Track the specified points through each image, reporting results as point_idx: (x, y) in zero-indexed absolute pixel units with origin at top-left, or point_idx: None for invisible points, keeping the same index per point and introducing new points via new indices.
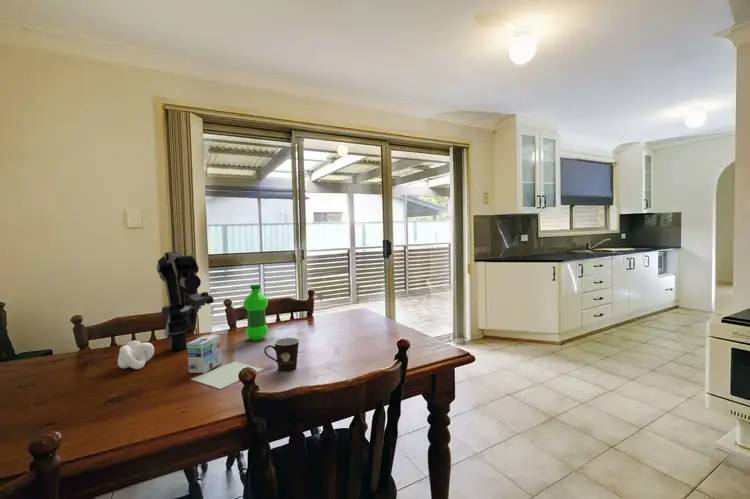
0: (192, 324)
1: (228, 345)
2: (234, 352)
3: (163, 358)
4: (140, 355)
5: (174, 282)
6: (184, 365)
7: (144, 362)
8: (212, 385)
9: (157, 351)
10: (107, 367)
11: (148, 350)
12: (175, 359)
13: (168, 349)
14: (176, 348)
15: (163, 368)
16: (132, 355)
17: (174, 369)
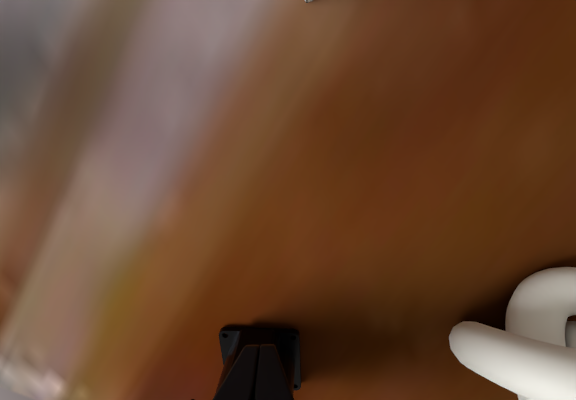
0: (259, 359)
1: (61, 185)
2: (85, 21)
3: (385, 302)
4: (560, 342)
5: None
6: (414, 102)
7: (535, 288)
8: None
9: (335, 395)
10: None
11: (544, 342)
12: (368, 240)
13: (300, 375)
14: (283, 349)
15: (499, 169)
16: None
17: (491, 91)
